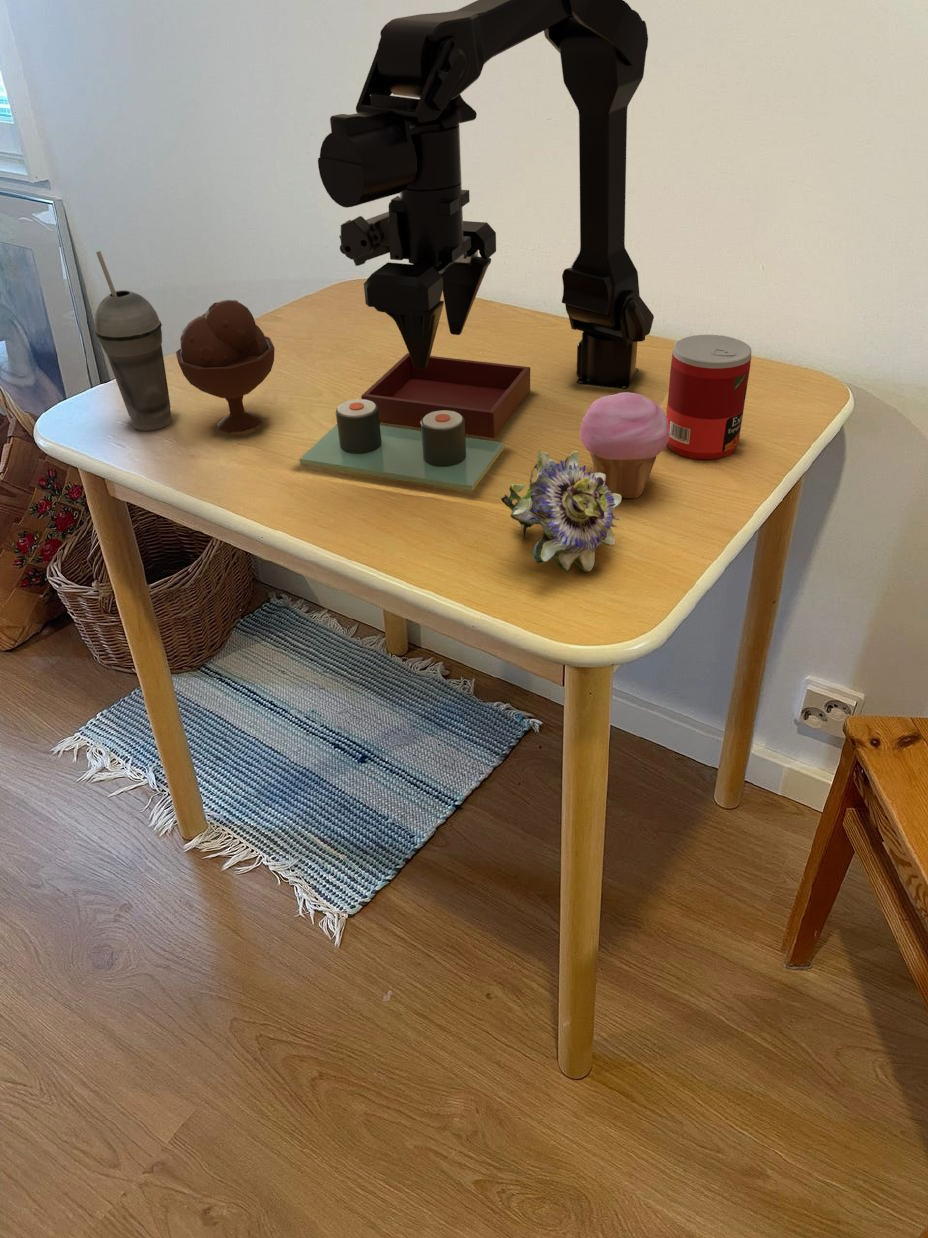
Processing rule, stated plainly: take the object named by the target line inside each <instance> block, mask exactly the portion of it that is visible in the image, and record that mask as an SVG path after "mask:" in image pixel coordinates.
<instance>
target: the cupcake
mask: <svg viewBox="0 0 928 1238" xmlns="http://www.w3.org/2000/svg"><path fill="white" fill-rule="evenodd" d="M666 415H667V414H666V413H665V411H664V410H663V408H662V407H661V406H660V405H658V404H657V403H656V401H653V400H652V399H650V398H649V397H647V396H646V395H643V394H639V393H636V392H628V391H627V392H626V391H625V392H624V391H623V392H618V393H615V394H612V395H604V396H602V397H599V398H597V399H596V400H594V401H593V402H592V404H590V406H589V407H588V409H587V410H586V413H585V414H584V416H583V419H582V420H581V425H580V431H579V438H580V442H581V444H582V446H583V447H584V448H585V450H586V451H588V452H589V454H590V457H591V460H592V467H593V473H599V472H600V473H603V474H605V475H606V479H605V484H604V485H606V486H607V487H608V488H609V489H608V490H609V491H610V490H611V492H610V493H612V494H613V493H615V494H619V495H621V497H622V498H627V499H637V498H638V497H641V496H642V494H643V492H644V490H645V487H646V486H647V483H648V480H649V478H650V475H651V472H652V470H653V467H654V466H655V462H656V460H657V456H658V455H659V454H660V453H662V452H663V451H664V449H665V448H666V447H667V443H668V440H669V436H670V433H669V426H668V419H667V417H666Z"/></svg>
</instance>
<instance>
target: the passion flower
mask: <svg viewBox="0 0 928 1238" xmlns="http://www.w3.org/2000/svg"><path fill="white" fill-rule="evenodd" d="M579 455H580V453H579V451H577V450H573V451H572V452H571V453H570V454H568V456H566V458H565V460H562V459H561V460H559V463H556V461H555V460H554V459H551V457H550V456H549V453H548V452H546V451H542V450H540V449H539V450H538V452H537V463H535V464H534V466H533V467H532V469H531V470H530V477H529V486H528V488H529V489H527V490H526V493H525V495H524V496H523V497H521V496H520V495H519V494H518V493H519V492H522V491H523V490H524V489H525V487H526V485H525V484H522V483H517V484H516V483H513V484H511V485H510V486H509V488H508V490H509V492H510V494H509V495H508V494H506V493H505V494H504V495H503V496H502V497H500V500H501V501H502V503H503V504H504V505H505V506H506V507H508V508H509V509H510V510H511V513H510V515H509V516H510V517H511V519H513V520H514V521H517V522H518V523H519V525H520V529H521V533H522V537H523V538H525V537H526V532H527V529H528V528H531V527H532V526H534V525H539V526H541V528H542V529H543V533H542V536H541V538H540V539H539V540H538V541H537V542H536V543H535V545H534V548H533V550H532V557H533V560H534V561H535V563H537V564H543V563H544V564H545V563H546V562H548V561H549V560H550V559H552V558H554V561H555V563H556V565H557V566H558V567H559V568H560V569H561V570H562V571H563V572H564V573H568V571H569V570H570V569H571V565H573V564H575V565H576V566H577V567H578V568H579V569H581V570H582V571H583V572H586V573H590V572H591V571H592V569H593V568H594V565H595V559H596V557H595V555H596V554H595V552H596V550H597V549H598V546H600V545H604V546H607V547H609V546H610V547H613V546H614V545H615V544H616V537H615V532H614V531H613V529H612V528H611V527H615V528H617V525H616V524H615V525H614V524H613V520H615V521H620V518H617V515H614V509H615V508H618V507H619V505H620V504H621V502H622V499H623V497H621V495H619V494H615V493H613V494H612V493H610V492H611V490H610V491H609V490H608V489H609V488H608V487H607V486H606V485H604V484H605V479H606V475H605V474H603V473H600V472H599V473H594V471H593V472H585V471H586V470H587V466H586V464H585V465H583V466H582V467H581V465H580V464H579V462H580V456H579ZM535 469H536V471H537V473H536V480H535V481H533V478H534V470H535ZM590 469H591V470H592V469H593V468H592V467H590ZM514 500H516V502H514V503H513V501H514Z"/></svg>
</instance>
